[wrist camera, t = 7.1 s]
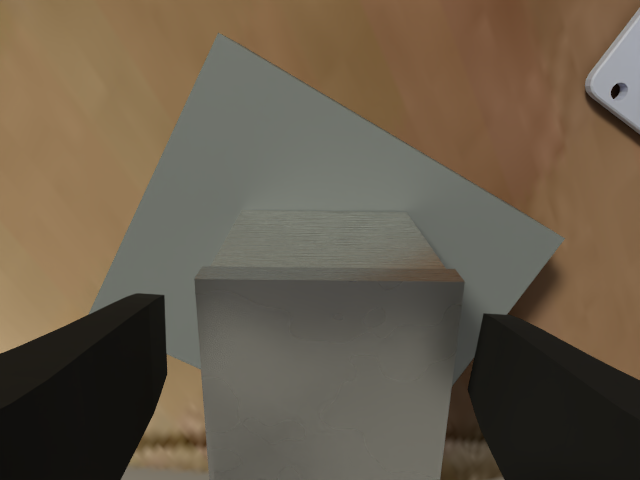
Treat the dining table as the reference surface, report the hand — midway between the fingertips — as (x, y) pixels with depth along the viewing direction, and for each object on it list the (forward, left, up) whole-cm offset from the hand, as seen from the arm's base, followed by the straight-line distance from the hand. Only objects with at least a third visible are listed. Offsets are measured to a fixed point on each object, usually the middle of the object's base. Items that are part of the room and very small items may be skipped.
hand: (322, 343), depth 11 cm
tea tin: (0, 0, -3) cm, 3 cm away
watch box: (0, 0, -7) cm, 7 cm away
